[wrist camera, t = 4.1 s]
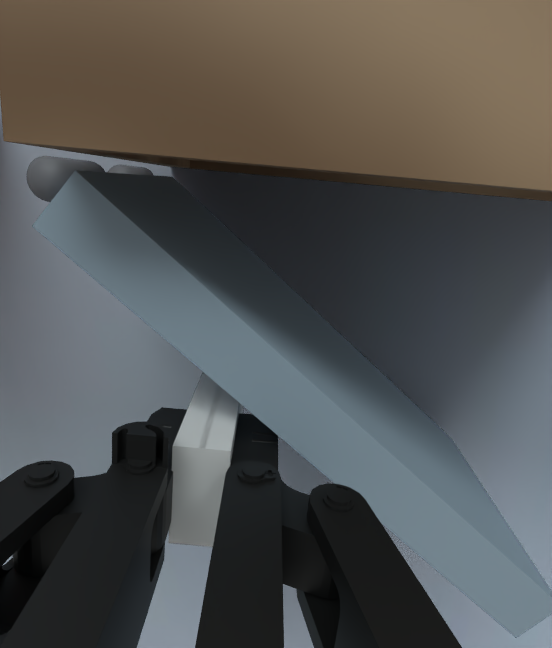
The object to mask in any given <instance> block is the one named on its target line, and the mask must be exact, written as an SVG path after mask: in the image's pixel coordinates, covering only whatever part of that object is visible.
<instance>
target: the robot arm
mask: <svg viewBox="0 0 552 648" xmlns="http://www.w3.org/2000/svg"><path fill="white" fill-rule="evenodd" d="M168 530H169V543H173V544H185V545H196V546H208V547H213V549H212V555H211V560H210V566H209V572H208V578H207V583H206V589H205V595H204V600H203V606H202V612H201V618H200V623H199V629H198V635H197V640H196V646H195V648H284V627H283V584H285V585H288V586H291V587H293V588H296V589H297V598H298V601H299V604H300V607H301V610H302V613H303V616H304V619H305V622H306V625H307V628H308V631H309V634H310V637H311V640H312V642H313V645H314V648H462V647H461V645H460V644H459V642H458V641H457V639H456V638H455V636H454V635H453V633H452V631H451V630H450V628H449V627H448V625H447V624H446V622H445V621H444V619H443V618H442V616H441V615H440V613H439V612H438V610H437V608H436V607H435V605H434V604H433V602H432V601H431V599H430V598H429V596H428V595H427V593H426V592H425V590H424V588H423V587H422V585H421V584H420V582H419V581H418V579H417V578H416V576H415V575H414V573H413V572H412V570H411V569H410V567H409V565H408V564H407V562H406V561H405V559H404V558H403V556H402V555H401V553H400V552H399V550H398V549H397V547H396V546H395V544H394V542H393V541H392V539H391V538H390V536H389V535H388V533H387V532H386V530H385V529H384V527H383V526H382V524H381V523H380V521H379V519H378V518H377V516H376V515H375V513H374V512H373V510H372V509H371V507H370V506H369V504H368V503H367V501H366V500H365V498H364V497H363V496H362V495H361V494H360V493H359V492H357V491H355V490H354V489H352V488H350V487H347V486H344V485H340V484H324V485H319V486H318V487H316V488H314V489H313V490H312V492H311V494H310V495H307V494H304V493H301V492H298V491H296V490H293V489H292V488H290V487H288V486H287V485H286V484H285V483H284V482H283V481H282V480H281V477H280V474H279V472H278V435H277V434H275V433H274V432H273V431H272V430H271V429H270V428H268V427H267V426H266V425H265V424H264V423H263V422H261V421H260V420H259V419H258V418H257V417H256V416H254V415H252V414H243V405H241V404H240V403H239V402H238V401H237V400H236V399H234V398H233V397H232V396H231V395H230V394H228V393H227V392H226V391H225V390H224V389H223V388H221V387H220V386H219V385H218V384H217V383H216V382H214V381H213V380H212V379H211V378H210V377H209V376H207V375H206V374H205V373H204V372H203V373H202V375H201V378H200V380H199V383H198V385H197V387H196V390H195V392H194V395H193V397H192V400H191V402H190V405H189V407H188V409H187V410H184V409H173V408H161V409H159V410H158V411H156V412H155V413H153V414H151V416H150V418H149V419H148V421H147V422H134V423H128V424H125V425H123V426H120V427H118V428H117V429H116V430H115V431H113V432H112V465H111V466H110V468H109V470H108V471H107V473H104V474H101V475H95V476H88V477H79V478H74V470H73V469H72V467H71V466H70V465H68V464H66V463H63V462H59V461H40V462H37V463H33V464H30V465H27V466H25V467H23V468H21V469H19V470H17V471H16V472H14V473H13V474H11V475H10V476H9V477H7V478H6V479H4V480H3V481H1V482H0V648H137V645H138V641H139V638H140V635H141V632H142V629H143V625H144V622H145V619H146V616H147V613H148V609H149V606H150V603H151V600H152V596H153V593H154V590H155V587H156V584H157V580H158V577H159V574H160V571H161V568H162V564H163V561H164V550H165V540H166V537H167V533H168ZM12 555H13V558H12V559H11V560H9V561H8V562H7V563H6V564H5V565H3V564H4V563H5V562H6V560H7V559H8V558H9V557H10V556H12ZM2 565H3V566H2Z"/></svg>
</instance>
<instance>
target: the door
mask: <svg viewBox="0 0 552 648" xmlns="http://www.w3.org/2000/svg"><path fill="white" fill-rule="evenodd" d="M27 182H28V185H29V187H30V189H31V191H32V192H33V193H34V194H35V195H36V196H37V197H38V198H40V199H42V200H45V201H49V202H50V203H49V205H48V206H47V207H46V209H45V210H44V211H43V213H42V214H41V215H40V216H39V218H38V219H37V220H36V222H35V223H34V224H33V225H32V227H33V228H35V229H36V230H37V231H38V232H39V233H40V234H42V235H43V236H44V237H45V238H46V239H48V240H49V241H50V242H51V243H52V244H53V245H55V246H56V247H57V248H58V249H59V250H60V251H62V252H63V253H64V254H65V255H66V256H68V257H69V258H70V259H71V260H72V261H73V262H75V263H76V264H77V265H78V266H79V267H80V268H82V269H83V270H84V271H85V272H86V273H87V274H89V275H90V276H91V277H92V278H93V279H95V280H96V281H97V282H98V283H99V284H100V285H102V286H103V287H104V288H105V289H106V290H107V291H109V292H110V293H111V294H112V295H113V296H115V297H116V298H117V299H118V300H119V301H120V302H122V303H123V304H124V305H125V306H126V307H127V308H129V309H130V310H131V311H132V312H133V313H134V314H136V315H137V316H138V317H139V318H140V319H142V320H143V321H144V322H145V323H146V324H147V325H149V326H150V327H151V328H152V329H153V330H154V331H156V332H157V333H158V334H159V335H160V336H162V337H163V338H164V339H165V340H166V341H167V342H169V343H170V344H171V345H172V346H173V347H174V348H176V349H177V350H178V351H179V352H180V353H181V354H183V355H184V356H185V357H186V358H187V359H189V360H190V361H191V362H192V363H193V364H194V365H196V366H197V367H198V368H199V369H200V370H201V371H203V372H204V373H205V374H206V375H207V376H209V377H210V378H211V379H212V380H213V381H214V382H216V383H217V384H218V385H219V386H220V387H221V388H223V389H224V390H225V391H226V392H227V393H228V394H230V395H231V396H232V397H233V398H234V399H236V400H237V401H238V402H239V403H240V404H241V405H243V406H244V407H245V408H246V409H247V410H248V411H250V412H251V413H252V414H253V415H254V416H256V417H257V418H258V419H259V420H260V421H261V422H263V423H264V424H265V425H266V426H267V427H268V428H270V429H271V430H272V431H273V432H274V433H275V434H277V435H278V436H279V437H280V438H281V439H283V440H284V441H285V442H286V443H287V444H288V445H290V446H291V447H292V448H293V449H294V450H295V451H297V452H298V453H299V454H300V455H301V456H303V457H304V458H305V459H306V460H307V461H308V462H310V463H311V464H312V465H313V466H314V467H315V468H317V469H318V470H319V471H320V472H321V473H322V474H324V475H325V476H326V477H327V478H328V479H330V480H331V481H332V482H333V483H334V484H340V485H344V486H347V487H350V488H352V489H354V490H355V491H357V492H359V493H360V494H361V495H362V496H363V497H364V498H365V500H366V501H367V503H368V504H369V506H370V507H371V509H372V510H373V512H374V513H375V515H376V516H377V518H378V519H379V521H380V523H381V524H382V525H384V526H385V527H386V528H387V529H388V530H389V531H391V532H392V533H393V534H394V535H395V536H397V537H398V538H399V539H400V540H401V541H402V542H404V543H405V544H406V545H407V546H408V547H409V548H411V549H412V550H413V551H414V552H415V553H416V554H418V555H419V556H420V557H421V558H422V559H424V560H425V561H426V562H427V563H428V564H429V565H431V566H432V567H433V568H434V569H435V570H436V571H438V572H439V573H440V574H441V575H442V576H444V577H445V578H446V579H447V580H448V581H449V582H451V583H452V584H453V585H454V586H455V587H456V588H458V589H459V590H460V591H461V592H462V593H463V594H465V595H466V596H467V597H468V598H469V599H471V600H472V601H473V602H474V603H475V604H476V605H478V606H479V607H480V608H481V609H482V610H483V611H485V612H486V613H487V614H488V615H489V616H491V617H492V618H493V619H494V620H495V621H496V622H498V623H499V624H500V625H501V626H502V627H503V628H505V629H506V630H507V631H508V632H509V633H510V634H512V635H513V636H514V637H515V638H517V637H519V636H520V635H521V634H523V633H524V632H526V631H527V630H529V629H530V628H532V627H533V626H535V625H536V624H538V623H539V622H541V621H542V620H543V619H545V618H546V617H548V616H549V615H551V614H552V591H551V589H550V588H549V586H548V585H547V583H546V582H545V580H544V579H543V577H542V576H541V574H540V573H539V571H538V569H537V568H536V566H535V565H534V563H533V562H532V560H531V559H530V557H529V556H528V554H527V553H526V551H525V550H524V548H523V547H522V545H521V544H520V542H519V541H518V539H517V537H516V536H515V534H514V533H513V531H512V530H511V528H510V527H509V525H508V524H507V522H506V521H505V519H504V518H503V516H502V515H501V513H500V512H499V510H498V509H497V507H496V505H495V504H494V502H493V501H492V499H491V498H490V496H489V495H488V493H487V492H486V490H485V489H484V487H483V486H482V484H481V483H480V481H479V480H478V478H477V477H476V475H475V473H474V472H473V470H472V469H471V467H470V466H469V464H468V463H467V461H466V460H465V458H464V457H463V455H462V454H461V452H460V451H459V449H458V448H457V446H456V445H455V443H454V441H453V440H452V438H451V437H449V436H448V435H447V434H446V433H445V432H444V431H443V430H442V429H441V428H440V427H439V426H438V425H437V424H436V423H435V422H433V421H432V420H431V419H430V418H429V417H428V416H427V415H426V414H425V413H424V412H423V411H422V410H421V409H420V408H419V407H417V406H416V405H415V404H414V403H413V402H412V401H411V400H410V399H409V398H408V397H407V396H406V395H405V394H404V393H403V392H401V391H400V390H399V389H398V388H397V387H396V386H395V385H394V384H393V383H392V382H391V381H390V380H389V379H388V378H387V377H385V376H384V375H383V374H382V373H381V372H380V371H379V370H378V369H377V368H376V367H375V366H374V365H373V364H372V363H371V362H369V361H368V360H367V359H366V358H365V357H364V356H363V355H362V354H361V353H360V352H359V351H358V350H357V349H356V348H355V347H353V346H352V345H351V344H350V343H349V342H348V341H347V340H346V339H345V338H344V337H343V336H342V335H341V334H340V333H339V332H338V331H336V330H335V329H334V328H333V327H332V326H331V325H330V324H329V323H328V322H327V321H326V320H325V319H324V318H323V317H322V316H320V315H319V314H318V313H317V312H316V311H315V310H314V309H313V308H312V307H311V306H310V305H309V304H308V303H307V302H306V301H304V300H303V299H302V298H301V297H300V296H299V295H298V294H297V293H296V292H295V291H294V290H293V289H292V288H291V287H290V286H288V285H287V284H286V283H285V282H284V281H283V280H282V279H281V278H280V277H279V276H278V275H277V274H276V273H275V272H274V271H272V270H271V269H270V268H269V267H268V266H267V265H266V264H265V263H264V262H263V261H262V260H261V259H260V258H259V257H258V256H256V255H255V254H254V253H253V252H252V251H251V250H250V249H249V248H248V247H247V246H246V245H245V244H244V243H243V242H242V241H240V240H239V239H238V238H237V237H236V236H235V235H234V234H233V233H232V232H231V231H230V230H229V229H228V228H227V227H226V226H224V225H223V224H222V223H221V222H220V221H219V220H218V219H217V218H216V217H215V216H214V215H213V214H212V213H211V212H210V211H208V210H207V209H206V208H205V207H204V206H203V205H202V204H201V203H200V202H199V201H198V200H197V199H196V198H195V197H194V196H192V195H191V194H190V193H189V192H188V191H187V190H186V189H185V188H184V187H183V186H182V185H181V184H180V183H179V182H178V181H176V180H175V179H174V178H173V177H167V176H154V175H153V173H152V172H151V171H150V170H148V169H146V168H143V167H135V166H126V165H116V166H113V167H112V168H111V169H110V170H109V171H108V173H107V172H105V171H104V169H103V168H102V167H101V166H100V165H99V164H97V163H95V162H91V161H84V160H75V159H67V158H58V157H50V156H41V157H38V158H36V159H34V160H33V161H32V162H31V163H30V165H29V167H28V169H27Z"/></svg>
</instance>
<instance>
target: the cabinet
mask: <svg viewBox="0 0 552 648" xmlns="http://www.w3.org/2000/svg"><path fill="white" fill-rule="evenodd" d="M0 98H1V111H2V124H3V137H4V141H7V142H13V143H20V144H26V145H33V146H39V147H46V148H52V149H59V150H65V151H72V152H78V153H85V154H91V155H98V156H104V157H111V158H117V159H124V160H130V161H137V162H143V163H150V164H156V165H163V166H169V167H179V168H190V169H201V170H212V171H224V172H235V173H246V174H257V175H268V176H279V177H290V178H301V179H312V180H323V181H334V182H345V183H356V184H367V185H378V186H389V187H400V188H411V189H422V190H434V191H445V192H456V193H467V194H478V195H489V196H500V197H511V198H522V199H533V200H544V201H552V0H0Z"/></svg>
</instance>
